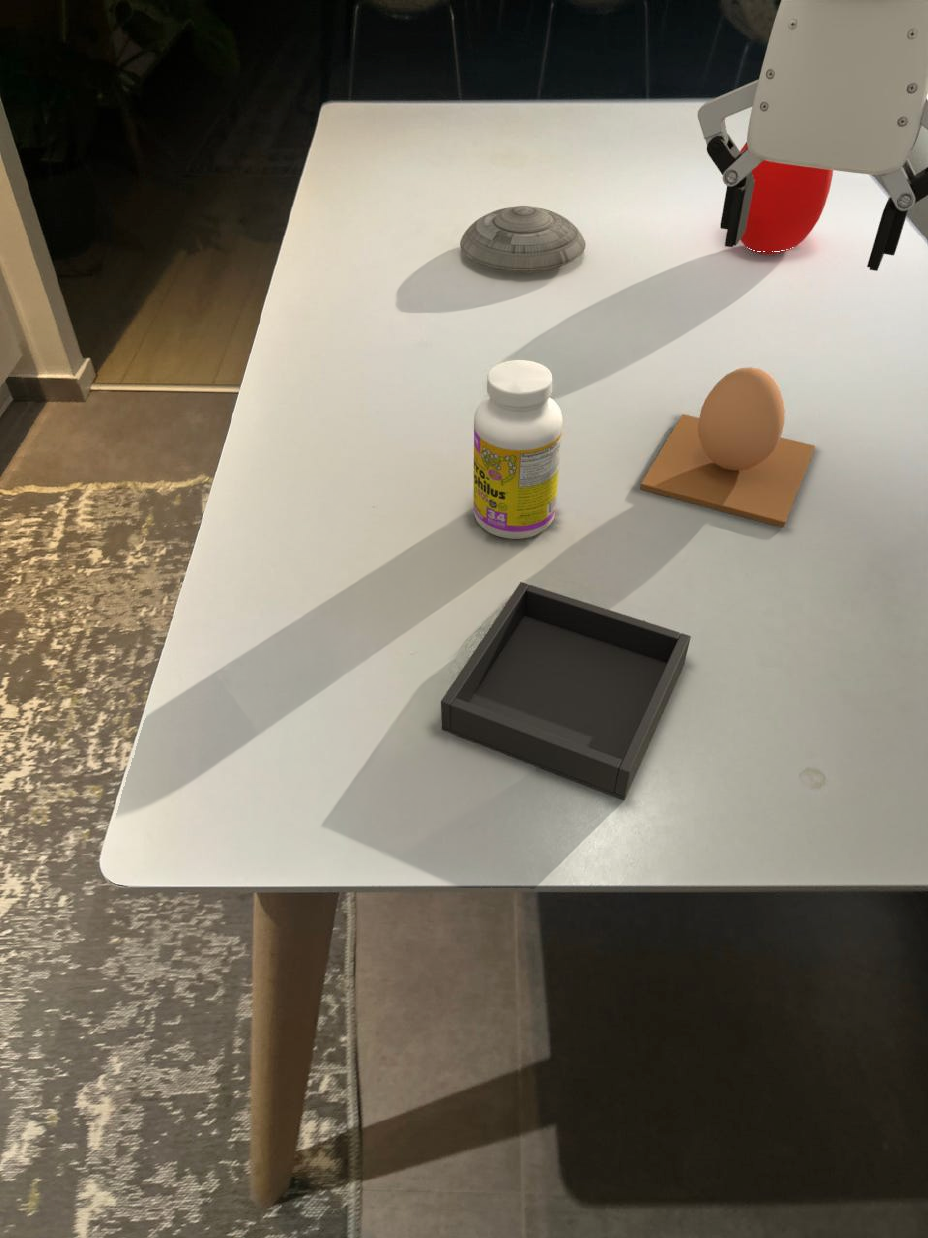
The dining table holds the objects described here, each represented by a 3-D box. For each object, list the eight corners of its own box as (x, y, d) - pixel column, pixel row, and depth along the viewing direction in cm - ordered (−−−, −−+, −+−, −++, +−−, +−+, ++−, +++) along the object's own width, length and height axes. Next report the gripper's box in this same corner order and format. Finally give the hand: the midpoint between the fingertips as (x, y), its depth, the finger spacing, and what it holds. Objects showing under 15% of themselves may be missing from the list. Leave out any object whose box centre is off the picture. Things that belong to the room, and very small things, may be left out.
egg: (674, 457, 80) (691, 364, 73) (732, 434, 82) (753, 341, 76) (729, 497, 76) (752, 402, 69) (788, 471, 78) (815, 377, 72)
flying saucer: (511, 293, 104) (513, 245, 100) (435, 250, 113) (434, 203, 109) (610, 259, 110) (615, 212, 106) (531, 220, 119) (533, 176, 115)
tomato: (789, 276, 106) (821, 144, 97) (700, 252, 111) (722, 124, 102) (831, 240, 114) (865, 114, 104) (745, 219, 119) (770, 97, 109)
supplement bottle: (460, 504, 76) (458, 363, 67) (530, 484, 78) (538, 344, 69) (496, 552, 72) (498, 408, 63) (570, 529, 74) (583, 386, 65)
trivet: (813, 451, 81) (815, 445, 81) (783, 528, 74) (785, 522, 73) (681, 419, 85) (682, 413, 85) (639, 489, 77) (640, 483, 77)
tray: (684, 664, 63) (691, 635, 61) (624, 800, 55) (629, 772, 53) (519, 609, 67) (520, 581, 65) (441, 729, 59) (440, 701, 57)
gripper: (1044, -51, 52) (941, 251, 64) (739, -66, 58) (696, 214, 70) (1039, -29, 47) (928, 294, 59) (707, -48, 53) (666, 250, 65)
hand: (803, 251), depth 64 cm, fingers open, 9 cm apart
